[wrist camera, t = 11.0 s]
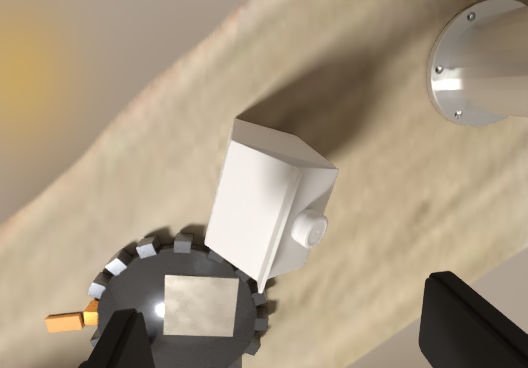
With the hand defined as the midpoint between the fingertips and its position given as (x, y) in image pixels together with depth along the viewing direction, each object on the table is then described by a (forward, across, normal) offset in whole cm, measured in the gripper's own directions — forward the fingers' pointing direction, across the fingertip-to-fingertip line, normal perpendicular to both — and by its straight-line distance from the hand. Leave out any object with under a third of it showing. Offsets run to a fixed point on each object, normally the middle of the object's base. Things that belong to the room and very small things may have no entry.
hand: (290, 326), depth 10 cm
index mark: (+25, +25, +19) cm, 40 cm away
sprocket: (+25, +10, +19) cm, 33 cm away
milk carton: (+25, -1, 0) cm, 25 cm away
